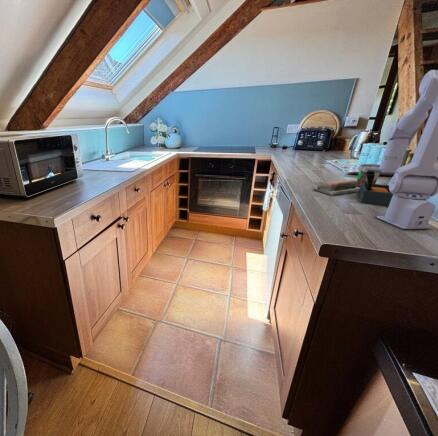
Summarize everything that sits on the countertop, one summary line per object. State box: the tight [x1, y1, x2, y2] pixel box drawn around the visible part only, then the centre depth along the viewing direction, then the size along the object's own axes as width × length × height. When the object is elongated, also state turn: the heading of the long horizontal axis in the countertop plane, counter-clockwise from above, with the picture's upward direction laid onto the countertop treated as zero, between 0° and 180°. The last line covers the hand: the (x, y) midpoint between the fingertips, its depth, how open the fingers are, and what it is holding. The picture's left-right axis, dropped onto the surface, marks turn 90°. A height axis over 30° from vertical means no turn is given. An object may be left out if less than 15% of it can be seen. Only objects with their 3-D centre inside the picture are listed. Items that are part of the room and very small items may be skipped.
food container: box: [356, 163, 381, 188], centre depth 117 cm, size 12×6×10 cm, turn 113°
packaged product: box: [312, 178, 360, 196], centre depth 111 cm, size 18×5×10 cm
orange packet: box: [370, 187, 389, 193], centre depth 98 cm, size 11×4×4 cm, turn 145°
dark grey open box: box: [357, 183, 393, 207], centre depth 98 cm, size 15×12×5 cm
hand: (380, 191), depth 98 cm, fingers open, 7 cm apart
